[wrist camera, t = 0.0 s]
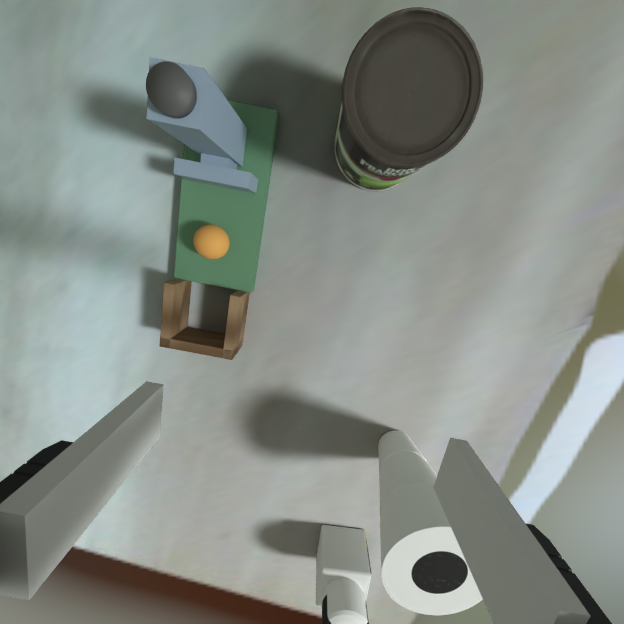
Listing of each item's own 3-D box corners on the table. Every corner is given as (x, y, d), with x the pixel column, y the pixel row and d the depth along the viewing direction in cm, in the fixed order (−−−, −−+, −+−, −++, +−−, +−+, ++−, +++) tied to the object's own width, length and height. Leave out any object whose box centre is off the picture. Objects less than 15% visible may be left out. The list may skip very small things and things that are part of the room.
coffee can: (419, 190, 37) (476, 165, 24) (334, 192, 38) (341, 168, 24) (425, 93, 35) (492, 2, 21) (334, 96, 35) (342, 8, 22)
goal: (182, 276, 41) (164, 282, 36) (250, 289, 41) (240, 297, 36) (177, 333, 43) (159, 346, 38) (242, 345, 43) (232, 359, 38)
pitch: (193, 98, 36) (188, 92, 34) (279, 115, 36) (277, 110, 34) (179, 276, 41) (173, 277, 39) (253, 290, 41) (251, 292, 39)
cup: (418, 480, 47) (475, 624, 30) (351, 466, 47) (368, 603, 30) (440, 421, 45) (516, 540, 27) (369, 405, 45) (400, 516, 27)
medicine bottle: (358, 562, 52) (369, 657, 40) (316, 557, 52) (314, 651, 40) (365, 528, 50) (378, 617, 38) (321, 523, 50) (321, 610, 38)
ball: (203, 222, 38) (189, 220, 34) (235, 228, 38) (225, 227, 34) (199, 254, 39) (186, 257, 35) (231, 261, 39) (221, 263, 35)
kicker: (194, 118, 35) (112, 43, 21) (264, 132, 35) (228, 66, 21) (189, 180, 36) (110, 147, 23) (256, 193, 36) (217, 168, 23)
